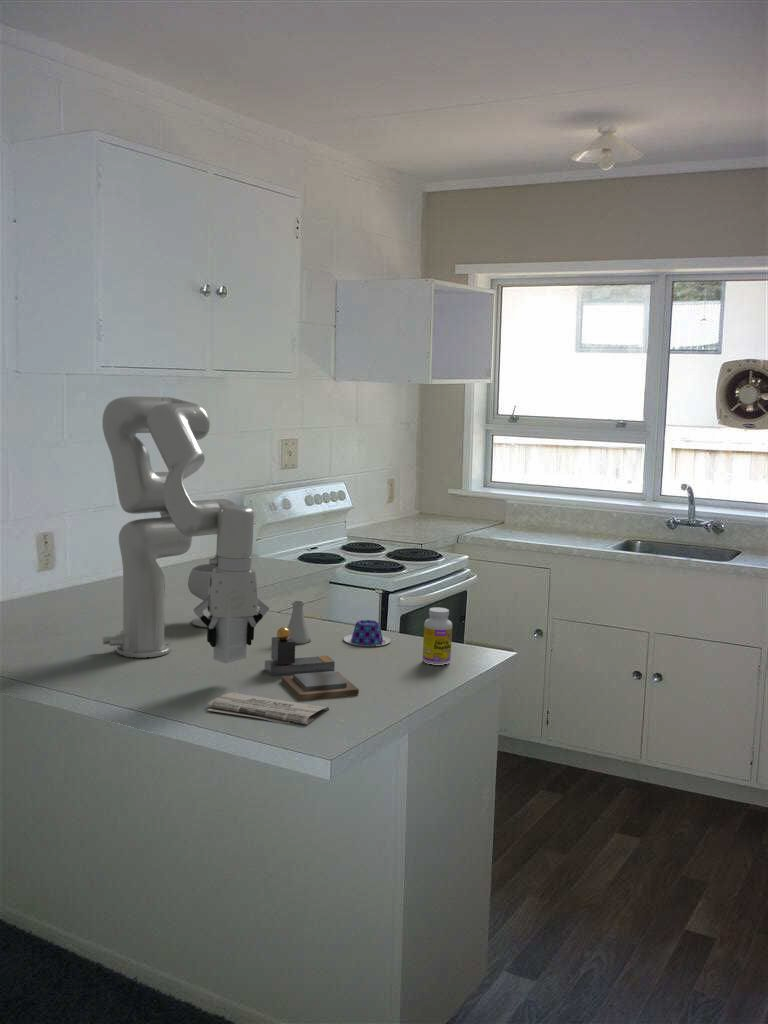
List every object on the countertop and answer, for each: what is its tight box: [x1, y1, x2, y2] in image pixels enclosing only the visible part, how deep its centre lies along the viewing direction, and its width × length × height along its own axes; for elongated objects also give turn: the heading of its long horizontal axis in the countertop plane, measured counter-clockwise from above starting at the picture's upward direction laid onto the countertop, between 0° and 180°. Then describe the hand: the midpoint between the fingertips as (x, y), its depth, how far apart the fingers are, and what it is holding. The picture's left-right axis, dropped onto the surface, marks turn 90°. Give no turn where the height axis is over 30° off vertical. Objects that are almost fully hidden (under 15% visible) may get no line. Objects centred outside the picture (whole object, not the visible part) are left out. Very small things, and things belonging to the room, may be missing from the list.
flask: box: [286, 600, 312, 644], centre depth 253 cm, size 7×7×10 cm
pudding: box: [343, 619, 392, 647], centre depth 255 cm, size 12×12×5 cm
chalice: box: [187, 563, 216, 628], centre depth 267 cm, size 14×14×15 cm
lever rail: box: [264, 655, 335, 676], centre depth 229 cm, size 15×5×2 cm, turn 112°
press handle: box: [270, 626, 296, 665], centre depth 227 cm, size 4×5×8 cm
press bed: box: [281, 670, 360, 701], centre depth 216 cm, size 13×13×2 cm
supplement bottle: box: [422, 607, 453, 664], centre depth 238 cm, size 7×7×13 cm
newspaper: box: [206, 691, 330, 725], centre depth 201 cm, size 23×12×2 cm, turn 69°
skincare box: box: [213, 609, 248, 664], centre depth 216 cm, size 6×4×12 cm
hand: (230, 643), depth 217 cm, fingers closed on skincare box, 7 cm apart
